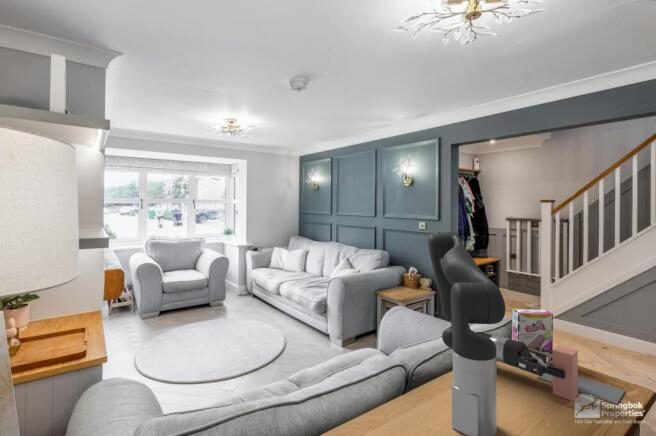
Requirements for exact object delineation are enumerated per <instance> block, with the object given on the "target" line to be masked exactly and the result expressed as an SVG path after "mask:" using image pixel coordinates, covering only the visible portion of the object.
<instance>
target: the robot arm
mask: <svg viewBox="0 0 656 436" xmlns="http://www.w3.org/2000/svg"><path fill="white" fill-rule="evenodd" d="M427 247H428V254H429V257H430V261H431V265H432V270H433V273H434V276H435V281H436V284H437V288H438V292H439V297H440V298H439V299H440V304H441V310H442V315H443V317H444V318H445V319H446V320H449V321H450V322H449V323H450V325H451V326H449V327H448V328H445V329H444V330H443V331H442V334H441V339H442V343H444V345H445V346H446V347H448V348H449V349H451V350H452V386H451V428H452V429H454V430H456V431H458V432H460V433H461V434H463V435H465V436H496V434H497V432H498V431H497V430H498V427H497V426H498V424H497V423H498V420H497V419H498V417H497V411H498V408H497V407H498V406H497V405H498V404H497V401H498V400H497V397H498V396H497V362H499V363H502V364H505V365H508V366H511V367H514V368H517V369H520V370H523V371H524V372H528V373H530V374H533V375H537V376H538V377H539V376H543V374H544V375H548V374H549V375H552V376H555V377H558V378H562V379H564V378H565V377H566V373H565V370H563V369H560V368H556V367H553V351H550V350H546V349H542V348H538V347H536V350H529V349H528V348H527V346H526V344H525V343H523V342H520V341H516V340H512V338H508V337H503V336H498V335H493V334H489V333H486V332H483V331H474V330H472V329H471V325H472V324H473V325H495V324H500V322H502V321H503V319H504V318H505V315H506V311H507V310H506V302H505V299H504V296H503V293H502V292H501V290H500V289H499V287H498V286H497V285H496V283H495V282H493V281H492V280H491V279H490V278H489V277H488V276H487V275H486V274H485V273H484V272H483V271H482V269H481V268H480V267H479V266H478V265H477V263H476V260H474V258H473V257H472V255H471V254H470V253H469V252H468V250H467V249H466V248H465V247H466V246H464V243H463V241H462V239H461V237H460V235H459V234H458V233H457V232H455V231H444V232H438V233H437V232H436V233H431V234H429V235H428V237H427ZM470 324H471V325H470ZM551 360H552V361H551Z"/></svg>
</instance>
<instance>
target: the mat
mask: <svg viewBox="0 0 656 436" xmlns="http://www.w3.org/2000/svg"><path fill="white" fill-rule="evenodd" d="M538 378H539V380H541V379H542V380H541V381H543V382H544V381H545V382H547V383H551V384H553V376H552V375H549V374H548V375H544V374H543V376H539V375H538V376H537V379H538ZM625 392H626V390H625V389H622V388H619V387H616V386H612V385H608V384H605V383H603V382H598V381H596V380H592V379H590V378H586V377H583V376H579V375H578V393H580V394H583V395H586V394H588V395H587V396H589V395H592V396H595V397H597V398H596V399H598V398H599V399H598V400H601V401H605V402H607V403H610V404H612V405H616V406H617V405H618V403H619V402H620V401H621V398H622V397H623V396H624V394H625ZM592 396H591V397H592ZM595 397H594V398H595Z"/></svg>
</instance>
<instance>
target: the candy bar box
mask: <svg viewBox="0 0 656 436" xmlns="http://www.w3.org/2000/svg"><path fill="white" fill-rule="evenodd" d="M511 339H512V340H516V341H520V342H523V343H525V344H526V346H527V348H528V349H529V350H536V347H538V348H542V349H546V350H550V351H553V349H554V348H553V347H554V345H553V343H554V342H553V341H554V340H553V339H554V314H553V312H550V311H548V310H546V309H530V308H529V309H528V308H524V309H523V308H512V309H511ZM551 361H552V360H551Z"/></svg>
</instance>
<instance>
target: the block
mask: <svg viewBox="0 0 656 436" xmlns="http://www.w3.org/2000/svg"><path fill="white" fill-rule="evenodd" d="M578 352H579V351H578V350H576V349H573V348H569V347H565V346H561V345H557V346H556V347H554V348H553V357H552V358H553V364H552V366H553V367H556V368H560V369H563V370H565V373H566V377H565V378H564V379H562V378H558V377H555V376H553V383H552V394H553V395H556V396H558V397H561V398H564V399H567V400H569V401H572V402H573V401H574V400H575V399H576V398H577V397H578V396H579V392H578V376H579V372H578V371H579V368H578V367H579V366H578V363H579V359H578V358H579V357H578V355H579V353H578Z"/></svg>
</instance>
